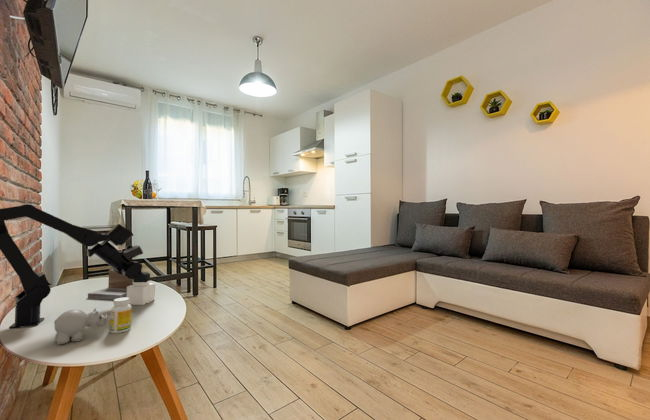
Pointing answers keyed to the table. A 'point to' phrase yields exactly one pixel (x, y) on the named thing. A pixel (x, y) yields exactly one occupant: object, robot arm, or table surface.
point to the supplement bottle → (120, 315)
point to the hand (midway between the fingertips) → (142, 279)
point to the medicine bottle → (141, 291)
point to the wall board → (113, 287)
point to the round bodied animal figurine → (76, 324)
